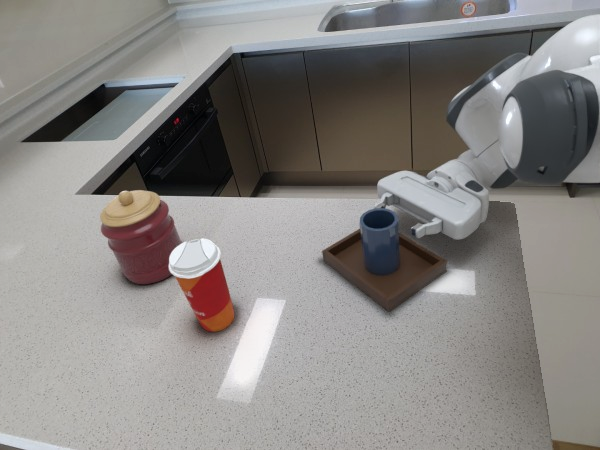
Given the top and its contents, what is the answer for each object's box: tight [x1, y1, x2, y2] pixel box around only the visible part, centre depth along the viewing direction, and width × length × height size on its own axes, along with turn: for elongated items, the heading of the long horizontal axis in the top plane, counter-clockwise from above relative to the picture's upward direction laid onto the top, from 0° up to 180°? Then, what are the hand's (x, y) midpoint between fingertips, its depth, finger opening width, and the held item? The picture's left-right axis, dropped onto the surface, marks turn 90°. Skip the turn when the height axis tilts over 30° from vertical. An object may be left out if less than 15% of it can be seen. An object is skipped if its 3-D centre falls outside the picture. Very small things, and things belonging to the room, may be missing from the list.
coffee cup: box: [169, 237, 235, 333], centre depth 75 cm, size 8×8×15 cm
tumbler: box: [359, 208, 400, 275], centre depth 80 cm, size 6×6×10 cm
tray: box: [321, 228, 448, 313], centre depth 83 cm, size 18×14×2 cm
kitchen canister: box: [99, 189, 184, 285], centre depth 89 cm, size 13×13×18 cm
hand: (394, 221), depth 80 cm, fingers open, 8 cm apart
